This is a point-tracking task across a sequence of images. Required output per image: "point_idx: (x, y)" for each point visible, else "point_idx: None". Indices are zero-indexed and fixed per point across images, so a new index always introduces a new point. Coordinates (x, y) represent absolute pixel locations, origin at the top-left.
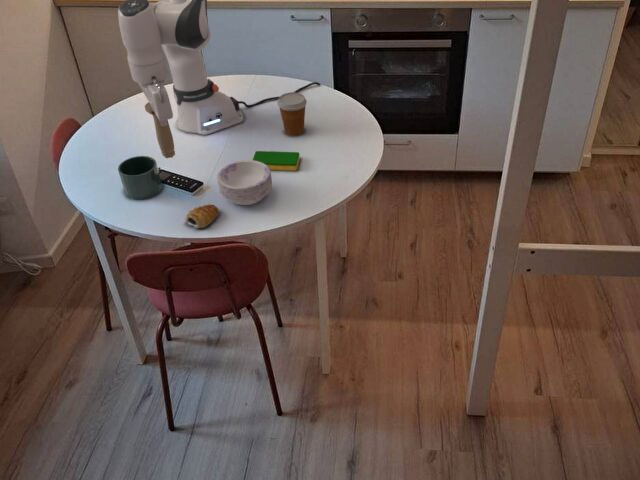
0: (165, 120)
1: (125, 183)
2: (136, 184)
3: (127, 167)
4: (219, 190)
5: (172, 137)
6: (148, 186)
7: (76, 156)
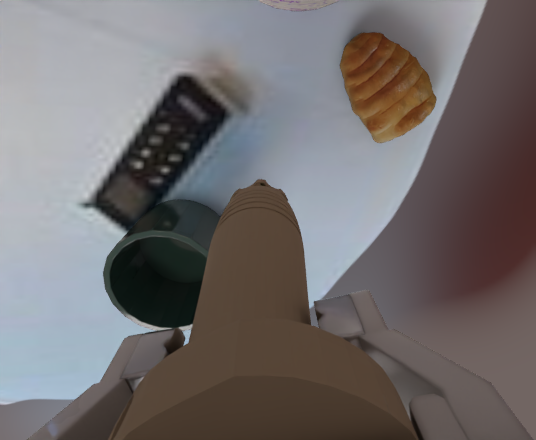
0: (387, 329)
1: None
2: None
3: (139, 300)
4: (306, 9)
5: (263, 205)
6: None
7: (22, 382)
